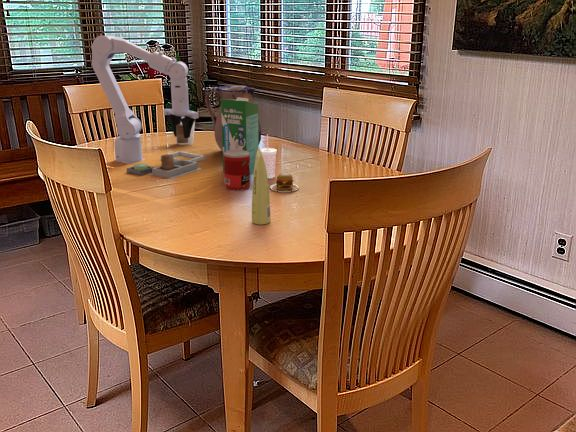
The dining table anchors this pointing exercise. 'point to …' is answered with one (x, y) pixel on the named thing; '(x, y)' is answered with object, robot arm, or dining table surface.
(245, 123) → the milk carton
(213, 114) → the ceramic pitcher
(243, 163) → the canned food
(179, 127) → the cylinder
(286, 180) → the hamburger
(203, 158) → the white shallow tray
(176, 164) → the grey rectangular tray
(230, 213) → the dining table surface
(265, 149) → the beverage cup
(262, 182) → the tube
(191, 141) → the foam cup
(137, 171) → the button housing
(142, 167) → the button
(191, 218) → the dining table surface
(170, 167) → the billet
